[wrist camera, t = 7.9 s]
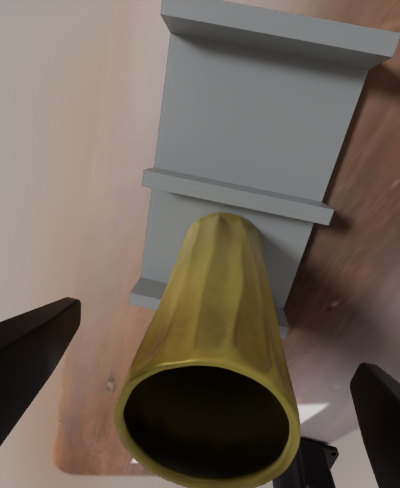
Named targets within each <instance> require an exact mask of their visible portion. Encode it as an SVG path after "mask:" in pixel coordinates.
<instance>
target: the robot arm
mask: <svg viewBox="0 0 400 488" xmlns="http://www.w3.org/2000/svg"><path fill="white" fill-rule="evenodd" d="M80 320H81V302H80V300H78V299H74V298H70V297H66V298H63V299H61V300H58V301H55V302H53V303H50V304H47V305H45V306H42V307H39V308H37V309H34V310H31V311H29V312H26V313H23V314H21V315H18V316H15V317H13V318H10V319H7V320H4V321H2V322H0V446H1V444H2V443H3V442H4V440H5V439H6V437H7V436H8V435H9V433H10V432H11V430H12V429H13V427H14V426H15V425H16V423H17V422H18V421H19V419H20V418H21V416H22V415H23V413H24V412H25V411H26V409H27V408H28V406H29V405H30V404H31V402H32V401H33V400H34V398H35V397H36V395H37V394H38V392H39V391H40V390H41V388H42V387H43V386H44V384H45V383H46V381H47V380H48V379H49V377H50V376H51V374H52V373H53V371H54V370H55V368H56V366H57V365H58V363H59V361H60V359H61V358H62V356H63V354H64V352H65V351H66V349H67V347H68V345H69V343H70V342H71V340H72V338H73V336H74V335H75V333H76V331H77V329H78V328H79V325H80ZM350 390H351V394H352V398H353V402H354V406H355V410H356V415H357V419H358V423H359V427H360V431H361V435H362V438H363V442H364V445H365V448H366V451H367V454H368V457H369V460H370V463H371V466H372V469H373V472H374V474H375V478H376V481H377V483H378V486H379V488H400V383H398V382H397V381H396V380H395V379H393V378H392V377H391V376H390V375H388V374H387V373H386V372H385V371H383V370H382V369H381V368H380V367H378V366H377V365H374V364H369V363H361V364H360V365H359V366H358V368H357V370H356V372H355V374H354V376H353V378H352V380H351V383H350ZM338 455H339V454H338V450H337V448H336V447H333V446H329V445H325V444H321V443H316V442H312V441H308V440H304V439H300V443H299V448H298V450H297V453H296V455H295V457H294V459H293V460H292V462H291V464H290V465H289V467H288V468H287V469H286V470H285V471H284V472H283V473H282V474H281V475H279V476H278V477H276V478H274V479H273V480H272V481H273V488H336V487H335V484H334V481H333V477H332V474H331V471H330V469H331V467H332V465H333V464H334V462H335V460H336V459H337V457H338Z"/></svg>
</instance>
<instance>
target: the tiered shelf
mask: <svg viewBox="0 0 400 488" xmlns="http://www.w3.org/2000/svg"><path fill="white" fill-rule="evenodd" d="M160 14H161V16H162V18H163V20H164V22H165V23H166V25H167V27H168V29H169V31H170V41H169V49H168V57H167V65H166V74H165V82H164V90H163V98H162V106H161V115H160V123H159V131H158V139H157V147H156V156H155V164H154V167H153V168H149V169H146V170H143V179H142V186H144V187H149V188H151V197H150V205H149V213H148V221H147V229H146V238H145V246H144V254H143V262H142V270H141V277H140V279H139V280H138V282H137V283H136V285H135V286H134V288H133V289H132V291H131V292H130V298H129V304H132V305H136V306H141V307H145V308H149V309H154V310H157V309H158V306H159V304H160V301H161V299H162V296H163V294H164V292H165V289H166V286H167V284H168V281H169V278H170V275H171V272H172V270H173V267H174V265H175V263H176V260H177V258H178V255H179V252H180V250H181V247H182V244H183V240H184V237H185V234H186V232H187V230H188V229H189V227H190V226H191V225H192V224H193V223H194V222H195V221H197V220H198V219H199V218H201V217H203V216H206V215H208V214H212V213H216V212H227V213H233V214H236V215H239V216H241V217H243V218H245V219H246V220H247V221H249V222H250V223H251V224H252V225H253V226H254V227H255V229H256V230H257V231H258V233H259V235H260V238H261V241H262V245H263V258H264V261H265V266H266V272H267V277H268V281H269V285H270V290H271V294H272V299H273V304H274V308H275V313H276V318H277V322H278V327H279V332H280V337H281V339H286V336H287V334H288V331H289V326H288V322H287V319H286V316H285V313H284V310H283V309H284V306H285V303H286V300H287V297H288V295H289V292H290V289H291V286H292V283H293V281H294V278H295V275H296V272H297V269H298V267H299V264H300V261H301V258H302V255H303V253H304V250H305V247H306V244H307V241H308V239H309V236H310V233H311V230H312V227H313V225H314V222H315V223H319V224H324V225H329V223H330V220H331V218H332V215H333V212H334V209H332V208H331V207H329V206H327V205H326V204H324V203H323V202H322V199H323V197H324V194H325V191H326V188H327V185H328V183H329V180H330V177H331V174H332V171H333V169H334V166H335V163H336V160H337V157H338V155H339V152H340V149H341V146H342V143H343V141H344V138H345V135H346V132H347V129H348V127H349V124H350V121H351V118H352V115H353V113H354V110H355V107H356V104H357V101H358V99H359V96H360V93H361V90H362V87H363V85H364V82H365V79H366V76H367V73H368V71H369V70H370V69H371V68H373V67H375V66H377V65H379V64H381V63H382V62H384V61H386V60H388V59H390V58H392V57H393V54H394V51H395V49H396V46H397V43H398V41H399V38H400V33H397V32H391V31H386V30H380V29H375V28H369V27H364V26H358V25H353V24H347V23H342V22H336V21H331V20H326V19H320V18H315V17H309V16H304V15H298V14H293V13H287V12H282V11H276V10H271V9H265V8H260V7H254V6H249V5H244V4H238V3H233V2H227V1H222V0H162V3H161V12H160Z"/></svg>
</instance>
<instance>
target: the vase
mask: <svg viewBox="0 0 400 488" xmlns="http://www.w3.org/2000/svg"><path fill="white" fill-rule="evenodd" d="M113 418H114V425H115V429H116V432H117V435H118V437H119V439H120V441H121V443H122V444H123V446H124V448H125V449H126V450H127V451H128V452H129V454H130V455H131V456H132V457H133V458H134V459H135V460H136V461H137V462H138V463H139V464H141V465H142V466H143V467H144V468H146V469H147V470H148V471H150V472H152V473H153V474H155V475H157V476H159V477H161V478H163V479H165V480H167V481H170V482H173V483H175V484H178V485H181V486H184V487H187V488H255V487H257V486H261V485H263V484H266V483H267V482H269V481H271V480H273V479H274V478H276V477H278V476H279V475H281V474H282V473H283V472H284V471H285V470H286V469H287V468H288V467H289V465H290V464H291V462H292V460H293V459H294V457H295V455H296V453H297V450H298V448H299V443H300V420H299V412H298V407H297V403H296V399H295V395H294V391H293V387H292V383H291V379H290V375H289V372H288V368H287V364H286V359H285V355H284V351H283V347H282V342H281V337H280V332H279V327H278V322H277V318H276V313H275V308H274V304H273V299H272V294H271V290H270V285H269V281H268V277H267V272H266V266H265V261H264V258H263V245H262V241H261V238H260V235H259V233H258V231H257V230H256V229H255V227H254V226H253V225H252V224H251V223H250V222H249V221H247V220H246V219H245V218H243V217H241V216H239V215H236V214H233V213H227V212H216V213H212V214H208V215H206V216H203V217H201V218H199V219H198V220H197V221H195V222H194V223H193V224H192V225H191V226H190V227H189V229H188V230H187V232H186V234H185V237H184V240H183V244H182V247H181V250H180V252H179V255H178V258H177V260H176V263H175V265H174V267H173V270H172V272H171V275H170V278H169V281H168V284H167V286H166V289H165V292H164V294H163V296H162V299H161V301H160V304H159V306H158V309H157V311H156V313H155V315H154V317H153V319H152V321H151V323H150V325H149V327H148V329H147V331H146V334H145V336H144V338H143V340H142V342H141V344H140V346H139V348H138V351H137V353H136V355H135V357H134V359H133V361H132V364H131V366H130V369H129V372H128V374H127V377H126V379H125V381H124V384H123V386H122V388H121V391H120V394H119V396H118V399H117V401H116V404H115V408H114V413H113Z"/></svg>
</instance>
